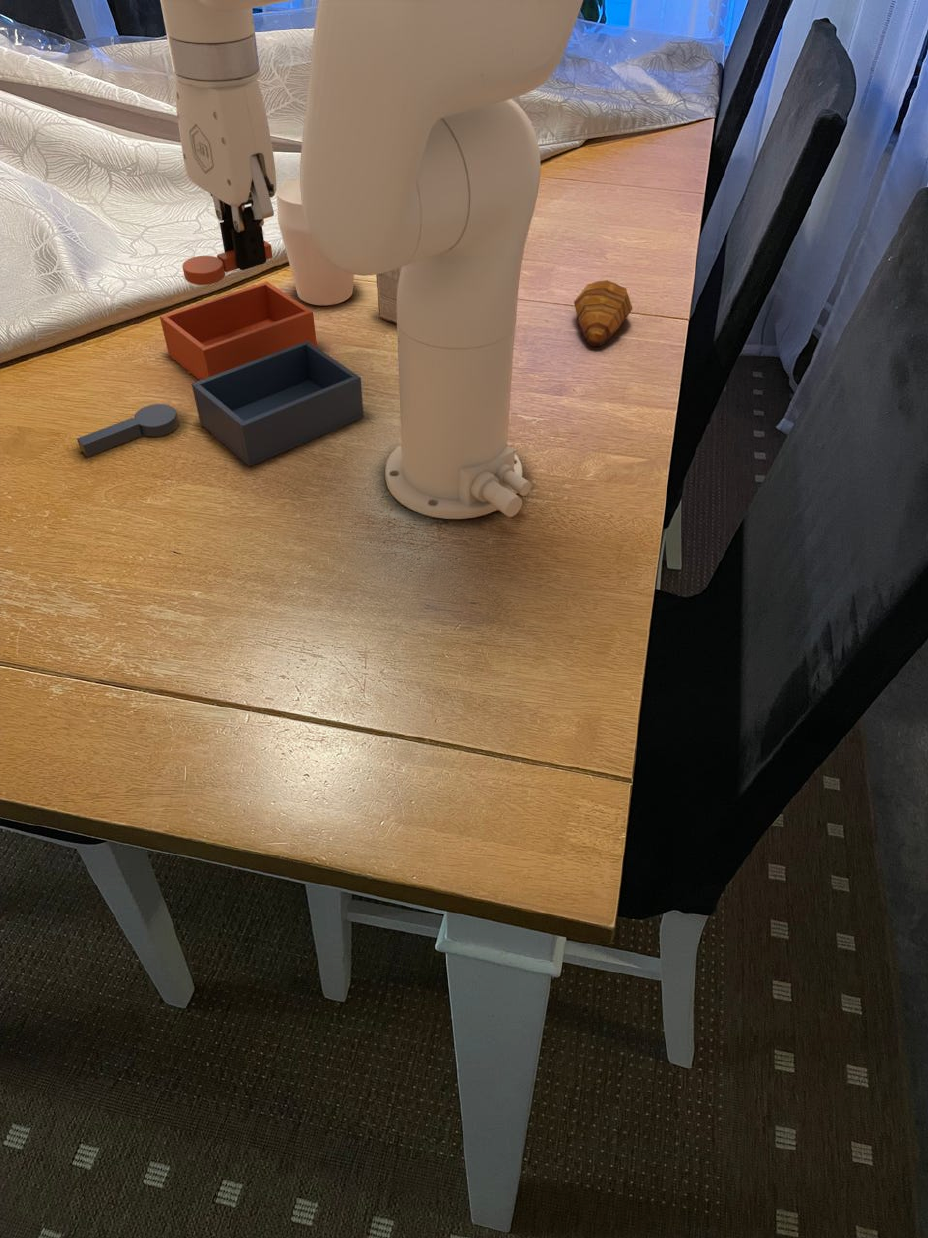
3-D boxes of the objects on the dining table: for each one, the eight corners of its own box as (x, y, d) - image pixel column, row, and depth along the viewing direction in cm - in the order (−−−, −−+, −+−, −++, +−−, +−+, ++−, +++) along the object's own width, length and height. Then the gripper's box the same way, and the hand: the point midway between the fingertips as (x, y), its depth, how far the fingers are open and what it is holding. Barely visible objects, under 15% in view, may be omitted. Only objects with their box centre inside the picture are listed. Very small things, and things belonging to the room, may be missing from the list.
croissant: (625, 354, 98) (632, 312, 94) (564, 347, 99) (569, 305, 95) (633, 300, 107) (640, 259, 103) (578, 293, 108) (583, 253, 104)
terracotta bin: (317, 349, 97) (313, 311, 94) (211, 390, 91) (203, 350, 88) (272, 318, 102) (266, 281, 98) (168, 355, 96) (159, 316, 92)
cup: (331, 318, 102) (321, 212, 93) (272, 297, 105) (257, 193, 97) (377, 289, 107) (371, 186, 99) (319, 270, 111) (309, 169, 102)
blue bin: (363, 417, 88) (361, 377, 85) (249, 467, 82) (242, 425, 78) (311, 379, 93) (307, 340, 89) (200, 424, 86) (191, 383, 83)
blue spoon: (93, 463, 82) (89, 451, 81) (75, 444, 84) (70, 432, 83) (186, 427, 86) (183, 414, 85) (166, 409, 88) (163, 397, 87)
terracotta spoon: (259, 248, 93) (257, 235, 92) (280, 262, 91) (278, 248, 90) (177, 274, 89) (174, 260, 88) (197, 288, 87) (194, 274, 86)
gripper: (134, 43, 80) (176, 246, 93) (223, 86, 72) (255, 300, 85) (207, 31, 83) (238, 228, 96) (300, 71, 75) (319, 279, 89)
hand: (246, 261), depth 91 cm, fingers closed on terracotta spoon, 1 cm apart
